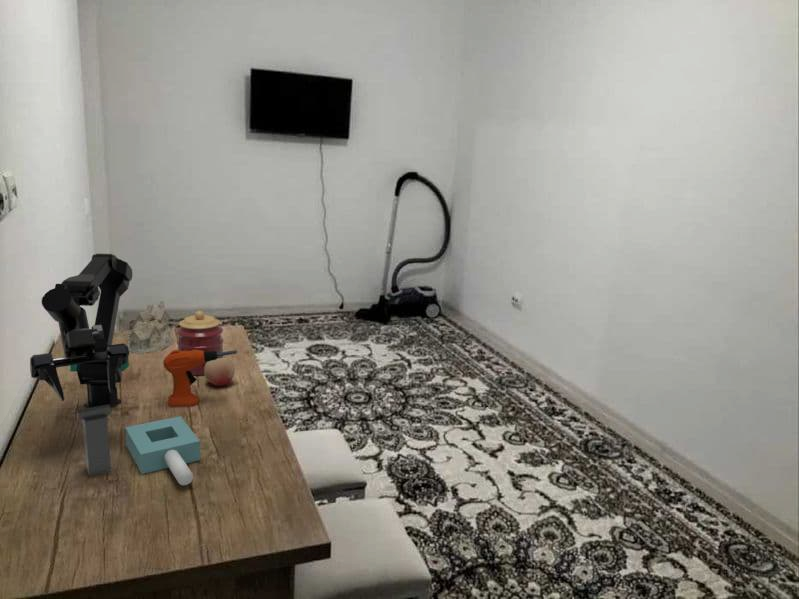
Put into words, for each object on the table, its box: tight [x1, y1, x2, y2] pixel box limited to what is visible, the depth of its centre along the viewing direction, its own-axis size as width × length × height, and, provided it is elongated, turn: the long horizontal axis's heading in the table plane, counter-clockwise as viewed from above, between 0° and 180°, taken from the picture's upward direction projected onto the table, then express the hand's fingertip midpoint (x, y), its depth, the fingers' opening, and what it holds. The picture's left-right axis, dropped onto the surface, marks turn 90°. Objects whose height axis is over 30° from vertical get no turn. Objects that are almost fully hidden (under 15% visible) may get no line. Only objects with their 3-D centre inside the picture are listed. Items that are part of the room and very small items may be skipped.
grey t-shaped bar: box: [76, 404, 112, 477], centre depth 128 cm, size 4×6×14 cm, turn 125°
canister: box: [176, 310, 224, 376], centre depth 185 cm, size 13×13×18 cm
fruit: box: [203, 356, 235, 387], centre depth 175 cm, size 8×8×8 cm
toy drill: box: [162, 349, 238, 408], centre depth 162 cm, size 5×19×15 cm, turn 105°
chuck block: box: [124, 415, 201, 486], centre depth 133 cm, size 24×12×4 cm, turn 35°
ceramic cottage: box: [126, 299, 173, 355], centre depth 203 cm, size 16×16×15 cm
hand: (87, 396), depth 132 cm, fingers open, 9 cm apart
